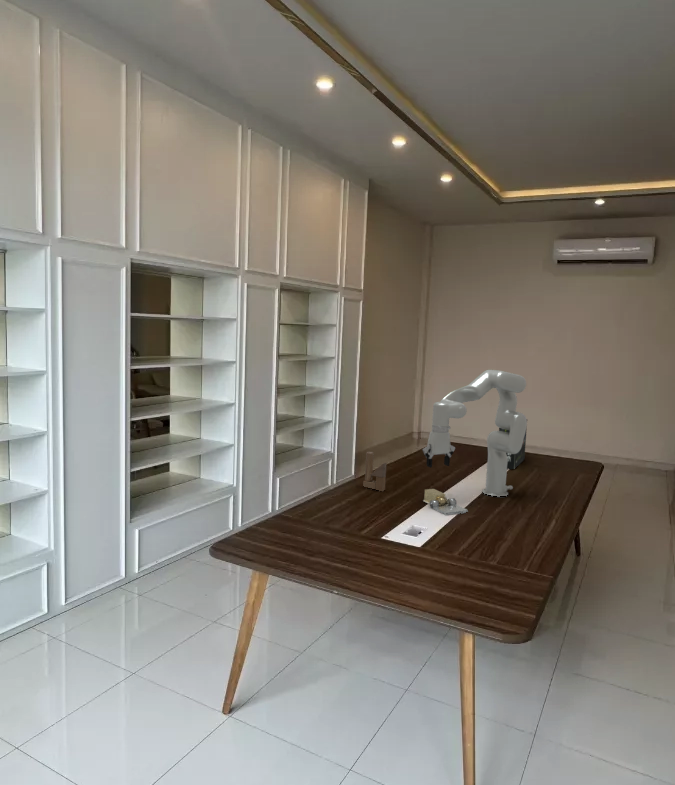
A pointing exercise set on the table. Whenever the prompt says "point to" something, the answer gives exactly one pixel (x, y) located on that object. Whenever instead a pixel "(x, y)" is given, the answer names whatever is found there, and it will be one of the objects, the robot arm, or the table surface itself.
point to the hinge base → (447, 507)
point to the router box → (516, 458)
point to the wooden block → (374, 474)
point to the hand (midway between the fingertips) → (438, 466)
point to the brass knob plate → (435, 496)
